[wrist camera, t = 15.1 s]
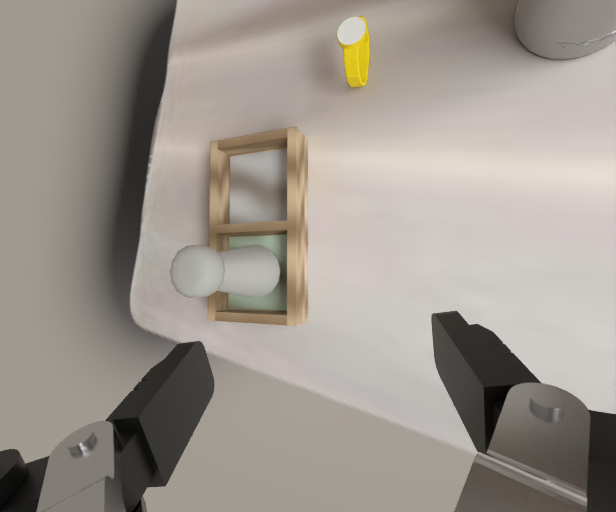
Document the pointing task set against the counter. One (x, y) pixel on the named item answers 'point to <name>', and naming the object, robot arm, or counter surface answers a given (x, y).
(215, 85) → the counter surface
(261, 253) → the salt shaker
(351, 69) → the watch
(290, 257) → the tray
